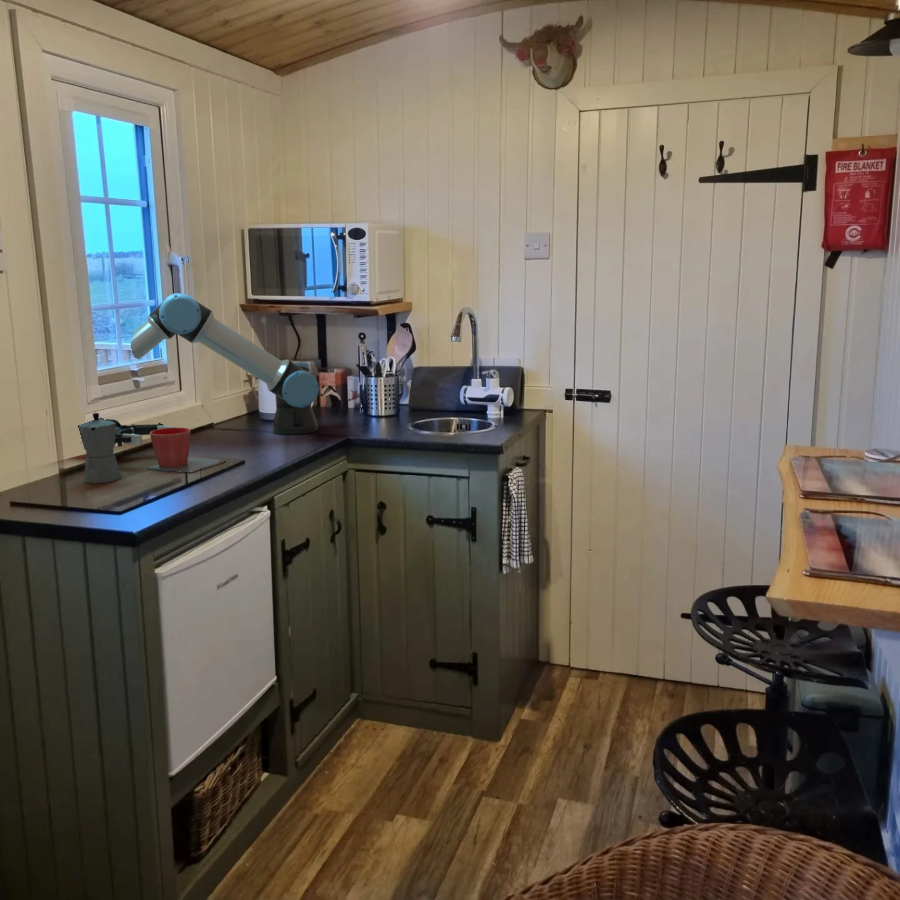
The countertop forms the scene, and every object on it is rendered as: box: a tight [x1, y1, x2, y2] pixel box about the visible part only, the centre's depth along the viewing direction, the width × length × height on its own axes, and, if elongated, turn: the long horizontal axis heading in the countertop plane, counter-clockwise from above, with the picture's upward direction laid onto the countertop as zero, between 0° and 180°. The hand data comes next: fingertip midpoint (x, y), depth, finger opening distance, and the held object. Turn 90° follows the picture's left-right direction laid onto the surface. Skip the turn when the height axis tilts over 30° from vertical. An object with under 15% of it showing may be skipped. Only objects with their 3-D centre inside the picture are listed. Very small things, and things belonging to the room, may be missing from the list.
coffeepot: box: [78, 412, 122, 484], centre depth 234 cm, size 15×9×18 cm, turn 13°
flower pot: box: [149, 427, 192, 467], centre depth 247 cm, size 11×11×10 cm
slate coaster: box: [147, 456, 221, 473], centre depth 248 cm, size 15×15×1 cm
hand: (158, 435), depth 251 cm, fingers open, 13 cm apart
